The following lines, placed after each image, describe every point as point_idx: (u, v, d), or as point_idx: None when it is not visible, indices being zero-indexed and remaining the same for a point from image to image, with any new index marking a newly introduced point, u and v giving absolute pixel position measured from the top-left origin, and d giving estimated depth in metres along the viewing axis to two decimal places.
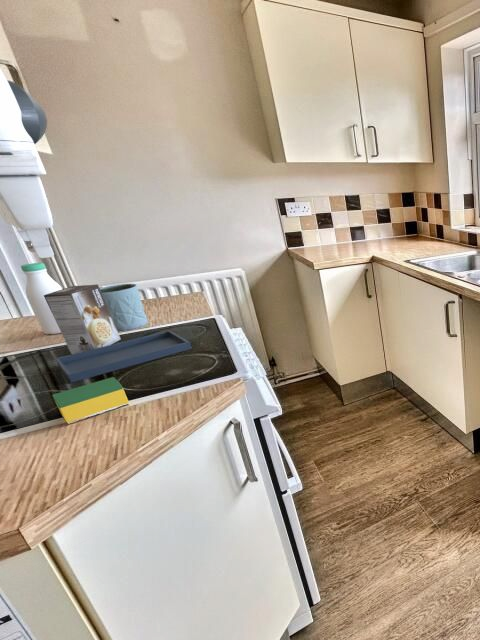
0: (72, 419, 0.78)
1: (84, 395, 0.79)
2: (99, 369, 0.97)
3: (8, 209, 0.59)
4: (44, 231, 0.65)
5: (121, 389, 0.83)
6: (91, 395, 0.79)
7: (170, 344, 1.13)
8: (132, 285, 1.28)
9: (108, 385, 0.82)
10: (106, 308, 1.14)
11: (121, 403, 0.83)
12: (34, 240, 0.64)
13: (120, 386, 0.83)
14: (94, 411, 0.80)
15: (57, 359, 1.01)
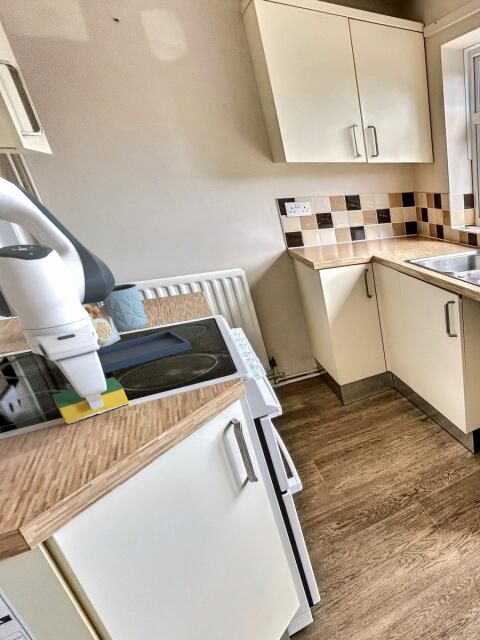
0: (72, 419, 0.78)
1: None
2: None
3: (72, 385, 0.72)
4: None
5: (121, 389, 0.83)
6: None
7: (170, 344, 1.13)
8: (132, 285, 1.28)
9: (108, 385, 0.82)
10: (106, 308, 1.14)
11: (121, 403, 0.83)
12: (89, 398, 0.78)
13: (120, 386, 0.82)
14: (94, 411, 0.80)
15: None
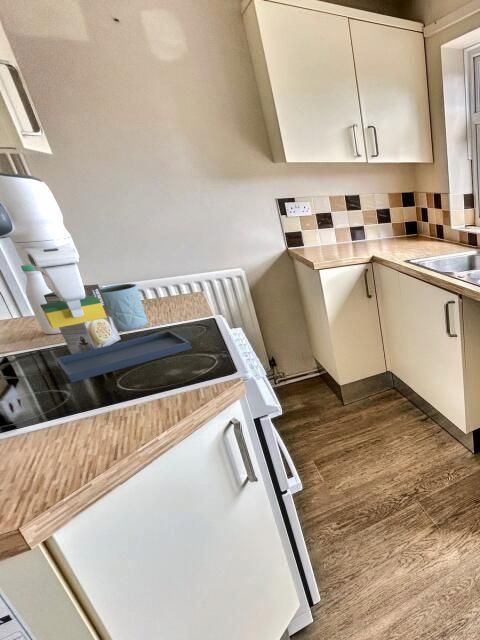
0: (57, 324, 0.92)
1: None
2: (99, 369, 0.97)
3: (56, 289, 0.86)
4: (77, 299, 0.92)
5: (99, 303, 0.97)
6: None
7: (170, 344, 1.13)
8: (132, 285, 1.28)
9: (88, 299, 0.97)
10: (106, 308, 1.14)
11: (99, 315, 0.97)
12: (71, 306, 0.92)
13: (98, 300, 0.97)
14: (76, 319, 0.94)
15: (57, 359, 1.01)
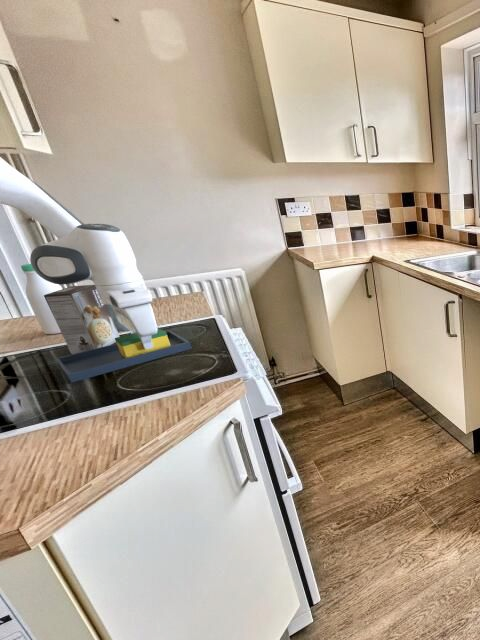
0: (130, 355, 1.03)
1: (139, 338, 1.04)
2: (99, 369, 0.97)
3: (134, 326, 0.98)
4: None
5: (166, 335, 1.08)
6: None
7: (170, 344, 1.13)
8: None
9: None
10: (106, 308, 1.14)
11: (165, 346, 1.09)
12: (143, 339, 1.03)
13: (165, 333, 1.08)
14: (146, 351, 1.06)
15: (57, 359, 1.01)
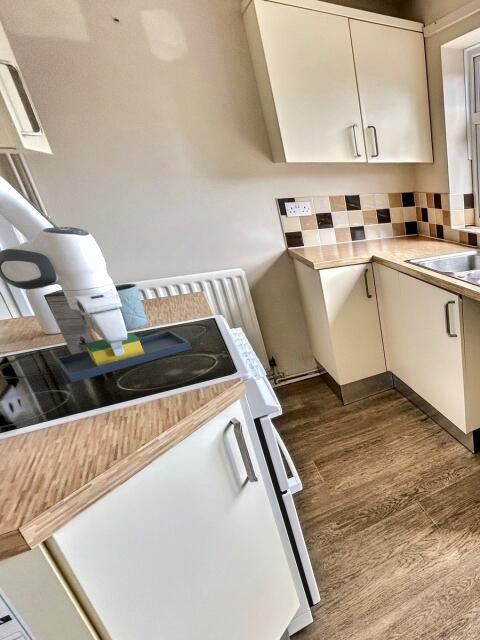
0: (100, 361, 1.01)
1: None
2: (99, 369, 0.97)
3: (102, 333, 0.95)
4: None
5: (138, 341, 1.06)
6: None
7: (170, 344, 1.13)
8: (132, 285, 1.28)
9: (128, 337, 1.05)
10: None
11: (138, 352, 1.06)
12: (113, 345, 1.00)
13: (137, 338, 1.05)
14: (117, 357, 1.03)
15: (57, 359, 1.01)
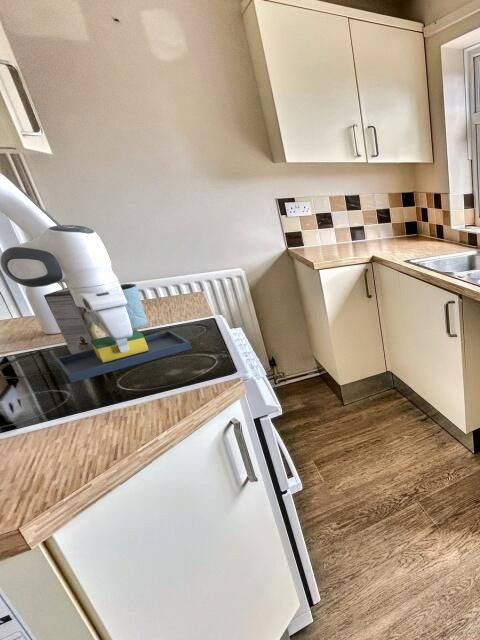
0: (106, 358, 1.02)
1: None
2: (99, 369, 0.97)
3: (108, 329, 0.96)
4: None
5: (143, 337, 1.07)
6: None
7: (170, 344, 1.13)
8: (132, 285, 1.28)
9: None
10: None
11: (142, 348, 1.07)
12: (119, 342, 1.02)
13: (142, 335, 1.06)
14: (122, 353, 1.04)
15: (57, 359, 1.01)
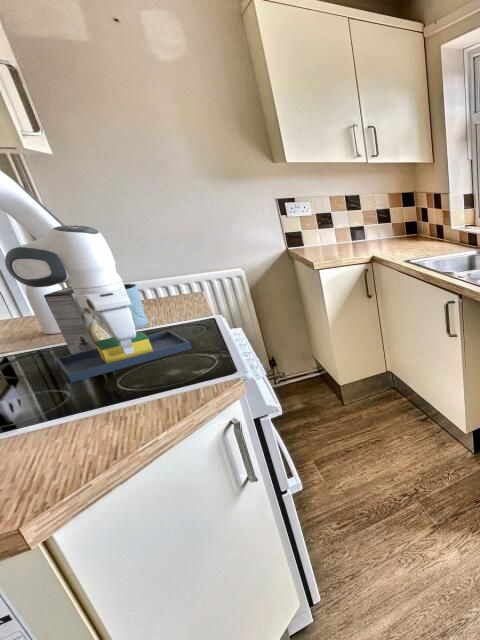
0: (110, 359, 1.02)
1: None
2: (99, 369, 0.97)
3: (111, 330, 0.96)
4: (129, 338, 1.01)
5: (147, 339, 1.07)
6: None
7: (170, 344, 1.13)
8: (132, 285, 1.28)
9: (137, 336, 1.06)
10: None
11: (147, 350, 1.07)
12: (123, 344, 1.01)
13: (146, 336, 1.06)
14: (126, 355, 1.04)
15: (57, 359, 1.01)
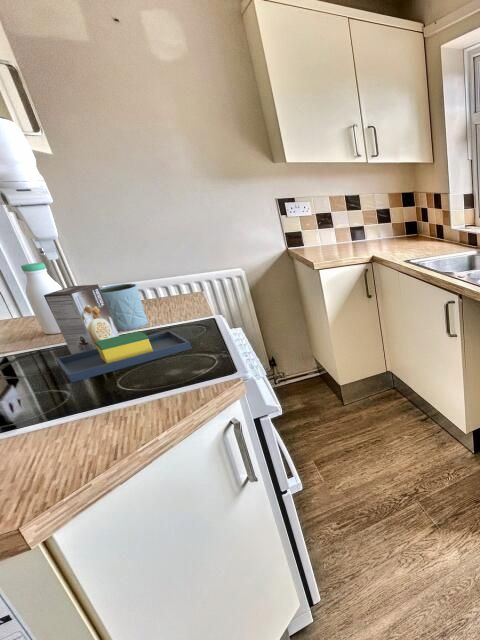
0: (110, 359, 1.02)
1: (119, 341, 1.03)
2: (99, 369, 0.97)
3: (28, 227, 0.89)
4: (52, 241, 0.94)
5: (147, 339, 1.07)
6: (124, 342, 1.03)
7: (170, 344, 1.13)
8: (132, 285, 1.28)
9: (137, 336, 1.06)
10: (106, 308, 1.14)
11: (147, 350, 1.07)
12: (45, 248, 0.94)
13: (146, 336, 1.06)
14: (126, 355, 1.04)
15: (57, 359, 1.01)
